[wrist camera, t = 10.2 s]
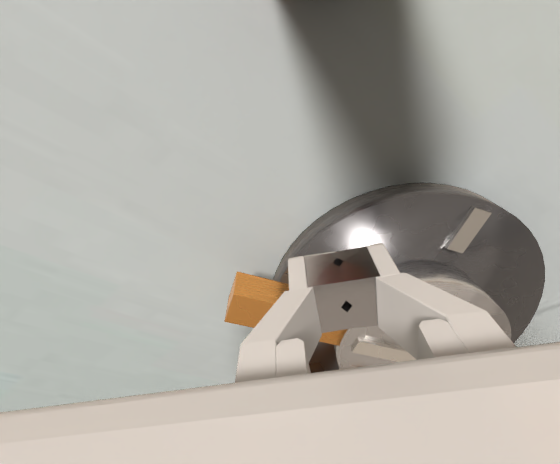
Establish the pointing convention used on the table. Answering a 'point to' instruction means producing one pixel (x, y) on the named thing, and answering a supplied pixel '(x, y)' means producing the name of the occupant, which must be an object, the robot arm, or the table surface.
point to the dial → (365, 340)
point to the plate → (433, 244)
